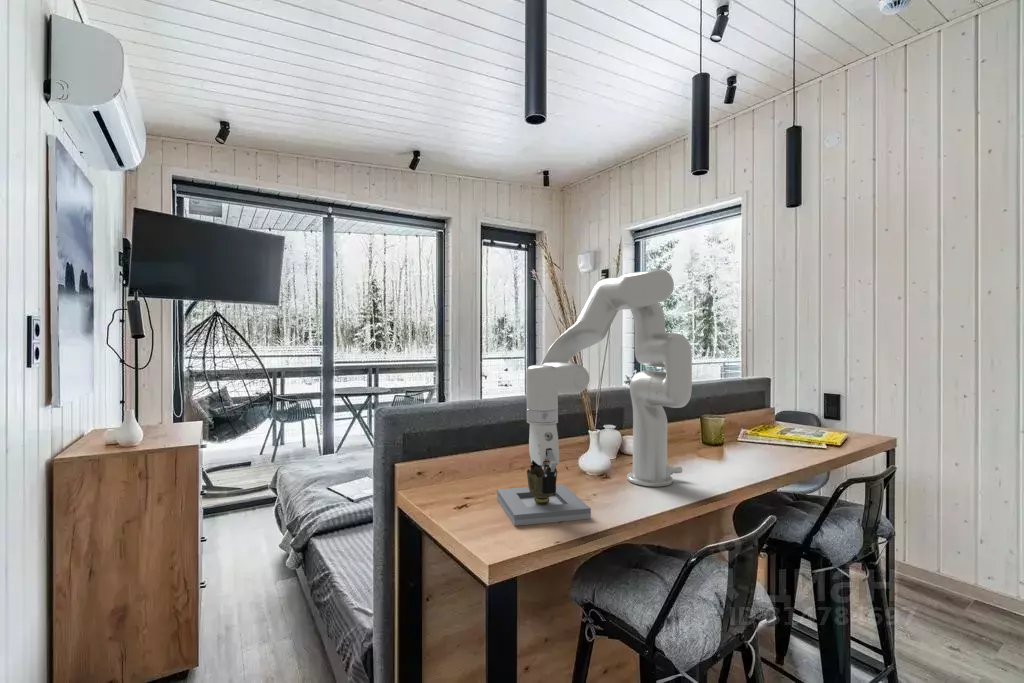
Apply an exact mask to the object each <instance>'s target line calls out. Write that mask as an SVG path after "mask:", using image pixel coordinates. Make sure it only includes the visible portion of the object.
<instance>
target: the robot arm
mask: <svg viewBox="0 0 1024 683" xmlns="http://www.w3.org/2000/svg"><path fill="white" fill-rule="evenodd" d="M674 284H675V282H674V278H673V276H672V275H671V273H669V272H668V271H667V270H664V269H651V270H643V271H635V272H628V273H624V274H622V275H620V276H619V277H610V278H604V279H601V280H599V281H598V282H597V283H596V284H595V285H594V287H593V289H592V290H591V292H590V295H589V296H588V297H587V300H586V302H585V304H584V305H583V307H582V309H581V311H580V314H578V317H577V319H576V321H575V322H574V323H573V324H572V326H570V327H569V328H568V329H566V331H564V332H563V333H562V334H561V335H560V336H558V338H556V340H555V341H553V343H552V344H551V345H550V347H549V348H548V350H546V353H545V354H544V357H542V358H543V359H542V360H541V362H540V364H534V365H533V364H532V365H530V366H528V367H527V369H526V375H525V376H526V423H527V424H529V431H528V432H529V437H528V449H529V450H528V452H529V457H530V461H529V462H530V465H529V466H530V469H531V467H532V469H534V467H535V466H537V467H538V468H539V467H541V469H542V470H543V475H544V476H542V493H543V494H549V493H555V492H556V485H557V480H556V470H557V466H559V465H560V448H559V435H558V434H559V433H558V425H557V424H558V423H559V415H558V414H559V409H558V408H559V404H558V403H559V400H558V399H559V396H558V395H559V394H565V395H566V394H567V395H575V394H579V393H582V392H583V391H584V390H586V388H587V387H588V386H589V384H590V375H589V374H590V373H589V372H588V370H587V369H586V367H584V366H583V365H581V364H579V363H574V362H573V363H572V362H570V361H571V359H572V358H573V357H575V356H576V355H577V354H578V353H579V352H581V351H583V350H585V349H588V348H590V347H592V346H595V345H596V344H598V343H600V342H602V341H603V340H604V339H605V338H606V337H607V334H608V332H609V330H610V328H611V326H612V324H613V322H614V320H615V317H616V316H617V315H618V312H619V311H622V310H630V312H631V314H632V317H633V325H634V326H633V327H634V329H633V330H634V355H635V361H637V362H638V363H639V364H640V365H643V366H646V367H647V366H648V367H657V368H658V367H659V368H664V369H665V371H660V370H659V371H658V370H641V371H637V372H636V373H634V375H632V377H631V380H630V382H629V393H630V398H631V399H630V400H631V406H632V471H630V472H627V475H626V479H627V480H628V481H629V482H631V483H633V484H635V485H638V486H639V485H640V486H643V487H644V486H645V487H650V488H651V487H656V488H657V487H659V488H660V487H667V486H670V485H672V483H673V477H672V475H673V474H682V473H683V467H682V466H681V465H679V466H673V464H672V465H671V464H670V465H669V464H668V418H667V414H666V411H665V409H664V407H667V408H673V409H675V408H676V409H678V408H680V409H681V408H684V407H685V406H687V404H688V403H689V401H691V400H690V399H691V396H692V392H693V391H692V389H693V373H692V372H693V361H692V359H693V356H692V354H693V353H692V348H691V345H690V341H689V340H688V339H687V338H686V337H685V335H683V334H680V333H675V332H674V333H673V332H666V319H665V318H666V316H665V312H664V310H663V308H662V306H661V305H660V303H662V302H665V301H666V300H668V299H669V298H670V297H671V296H672V294H673V292H674V288H675V287H674V286H675V285H674ZM547 467H548V469H547V471H546V468H547ZM530 469H529V470H530ZM557 471H558V470H557Z"/></svg>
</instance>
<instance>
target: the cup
mask: <svg viewBox="0 0 1024 683" xmlns="http://www.w3.org/2000/svg"><path fill="white" fill-rule="evenodd" d="M547 469H548V467H546V471H547ZM542 476H544V475H543V470H542V469H541V467H539V468H538V467H537V466H535V467H534V469H532V467H531V469H529V468H527V470H526V477H527V484H528V486H527V487H529V491H530V493H531V494H532V495H533V496H534V497H535V499H534V500H535V502H536V503H537V504H540V505H545V504H548V503H549V500H550V499H549V497H551V496H552V495H553V493H549V494H543V493H542ZM557 479H558V470H556V481H557Z"/></svg>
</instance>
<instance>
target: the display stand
mask: <svg viewBox="0 0 1024 683" xmlns="http://www.w3.org/2000/svg"><path fill="white" fill-rule="evenodd" d="M496 499H497V501H498V503H499V504H500V506H501V507H502V509H503V510H504V512H505V513H506V515H507V516H508V518H509V520H510V521H511V523H512V525H513V526H514V527H516V526H517V527H518V526H527V525H538V524H549V523H550V524H551V523H559V522H560V523H561V522H570V521H579V520H591V518H592V517H591V516H592V514H591V513H592V512H591V511H592V507H590V506H589V505H588V504H586V502H585V501H583V500H582V499H581V498H580V497H579V496H578V495H577V494H575V493H574V492H573V491H572V490H571V489H569V488H568V487H567V486H566V485H565V484H556V492H555V493H553V495H552V496H551V497H549V499H550V500H549V503H548V504H545V505H540V504H537V503H536V502H535V500H534V499H535V497H534V496H533V495H532V494H531V493H530V491H529V486H527V487H526V486H524V487H513V488H498V489H496Z"/></svg>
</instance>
